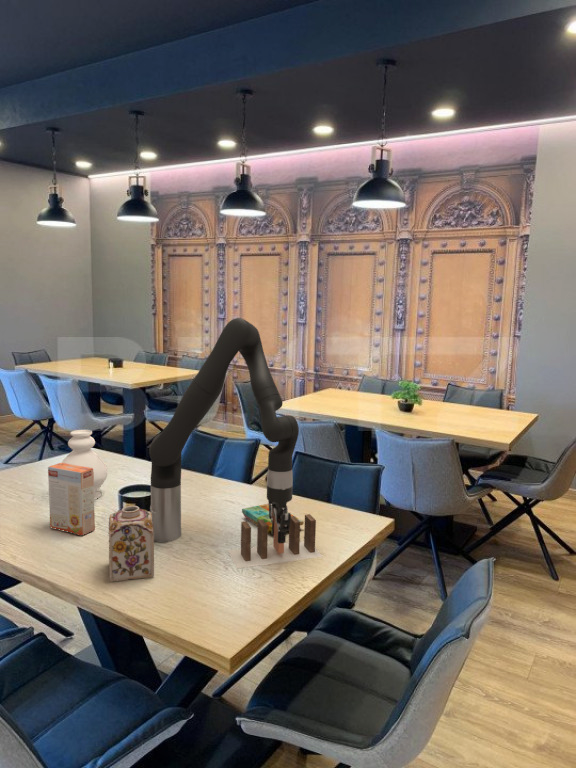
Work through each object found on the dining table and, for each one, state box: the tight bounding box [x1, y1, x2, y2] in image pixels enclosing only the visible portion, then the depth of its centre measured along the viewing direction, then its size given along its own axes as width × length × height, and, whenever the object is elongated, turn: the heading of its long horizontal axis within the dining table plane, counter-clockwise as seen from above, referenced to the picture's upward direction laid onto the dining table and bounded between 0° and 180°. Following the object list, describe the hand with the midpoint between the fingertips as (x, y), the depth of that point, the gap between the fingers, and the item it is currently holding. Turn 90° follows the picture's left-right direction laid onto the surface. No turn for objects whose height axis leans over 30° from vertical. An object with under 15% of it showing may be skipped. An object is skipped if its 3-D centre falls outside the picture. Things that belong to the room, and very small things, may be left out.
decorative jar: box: [108, 505, 155, 582], centre depth 154 cm, size 12×12×18 cm
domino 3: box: [272, 517, 284, 553], centre depth 167 cm, size 2×5×10 cm, turn 20°
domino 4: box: [288, 515, 301, 555], centre depth 169 cm, size 2×5×10 cm, turn 19°
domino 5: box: [303, 513, 317, 553], centre depth 170 cm, size 2×5×10 cm, turn 19°
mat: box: [227, 540, 324, 569], centre depth 167 cm, size 26×12×1 cm, turn 109°
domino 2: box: [256, 519, 269, 559], centre depth 165 cm, size 2×5×10 cm, turn 19°
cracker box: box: [47, 462, 96, 536], centre depth 181 cm, size 14×6×21 cm, turn 65°
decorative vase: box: [61, 429, 109, 501], centre depth 210 cm, size 18×18×25 cm
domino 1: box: [240, 520, 252, 561], centre depth 164 cm, size 2×5×10 cm, turn 19°
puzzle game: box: [241, 502, 305, 534], centre depth 189 cm, size 12×5×20 cm
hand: (278, 538), depth 167 cm, fingers closed on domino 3, 5 cm apart
